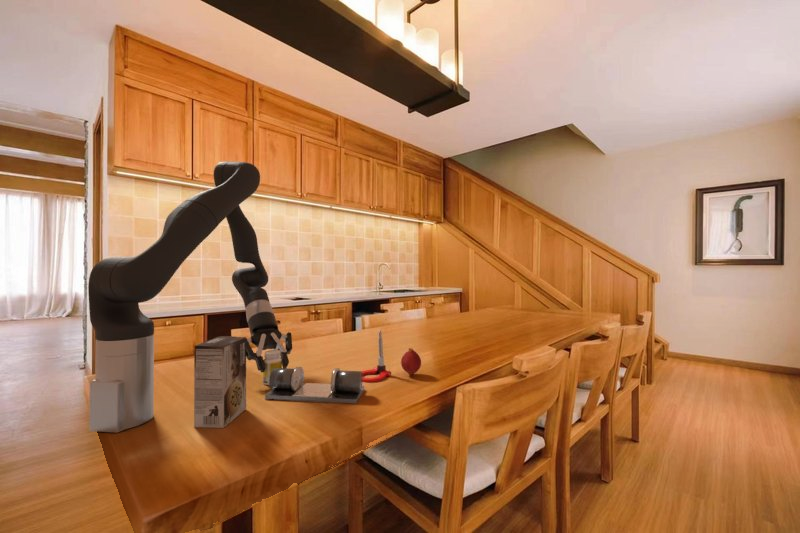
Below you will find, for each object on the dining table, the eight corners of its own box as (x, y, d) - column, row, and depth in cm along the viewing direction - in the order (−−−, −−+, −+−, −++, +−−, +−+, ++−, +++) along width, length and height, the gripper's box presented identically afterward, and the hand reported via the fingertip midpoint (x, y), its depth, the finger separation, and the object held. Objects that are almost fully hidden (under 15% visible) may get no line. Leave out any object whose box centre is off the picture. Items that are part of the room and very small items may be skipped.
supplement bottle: (284, 380, 95) (284, 349, 95) (276, 385, 90) (277, 354, 90) (268, 379, 95) (268, 349, 95) (259, 385, 90) (259, 353, 90)
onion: (408, 370, 103) (408, 344, 104) (424, 374, 100) (424, 347, 100) (397, 375, 99) (397, 348, 99) (413, 379, 95) (413, 351, 95)
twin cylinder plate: (364, 389, 87) (364, 364, 87) (355, 403, 78) (356, 375, 78) (282, 386, 90) (282, 361, 90) (265, 399, 81) (265, 371, 81)
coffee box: (218, 408, 75) (219, 335, 75) (247, 409, 75) (247, 336, 75) (192, 428, 66) (192, 345, 66) (224, 428, 66) (225, 345, 66)
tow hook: (370, 386, 91) (393, 376, 98) (368, 338, 91) (392, 332, 98) (350, 379, 97) (373, 370, 104) (348, 334, 97) (372, 328, 104)
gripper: (237, 312, 94) (249, 365, 85) (288, 308, 103) (304, 356, 94) (232, 329, 98) (243, 381, 89) (282, 324, 107) (296, 371, 98)
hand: (274, 368), depth 91 cm, fingers open, 5 cm apart
